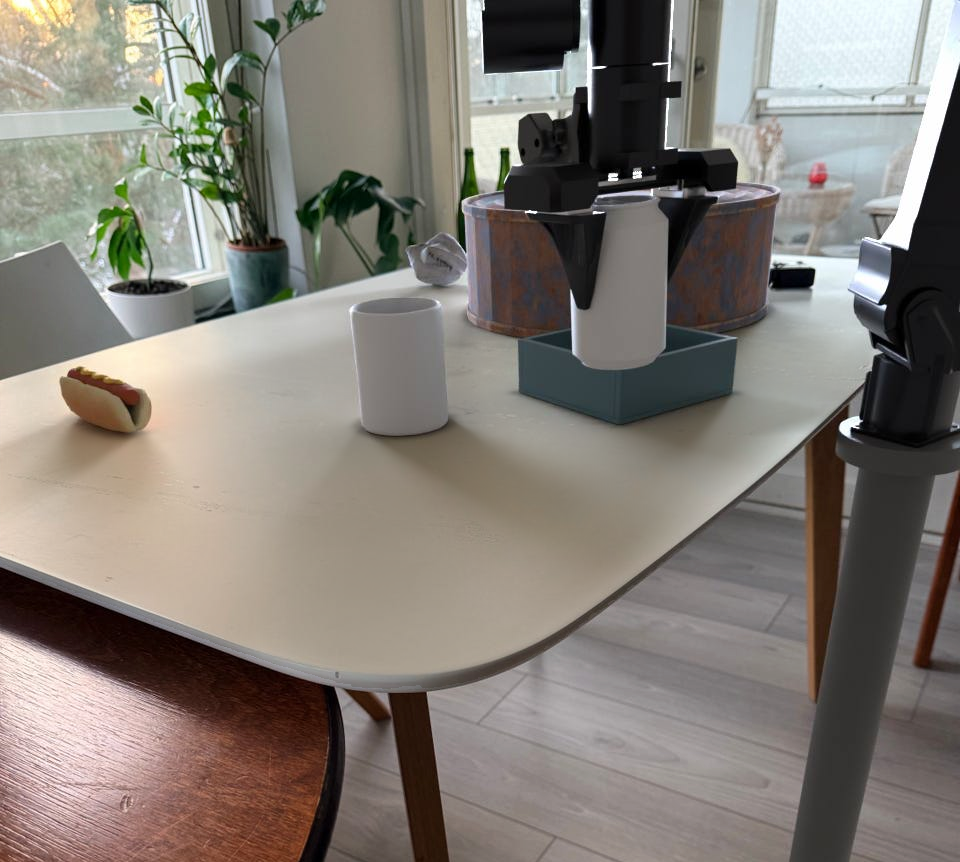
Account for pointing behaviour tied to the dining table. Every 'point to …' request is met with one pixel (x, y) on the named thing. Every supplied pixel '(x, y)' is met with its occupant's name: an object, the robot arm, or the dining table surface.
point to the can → (626, 288)
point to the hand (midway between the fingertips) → (621, 301)
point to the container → (690, 293)
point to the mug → (400, 365)
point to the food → (105, 400)
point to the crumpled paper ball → (438, 260)
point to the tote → (629, 375)
